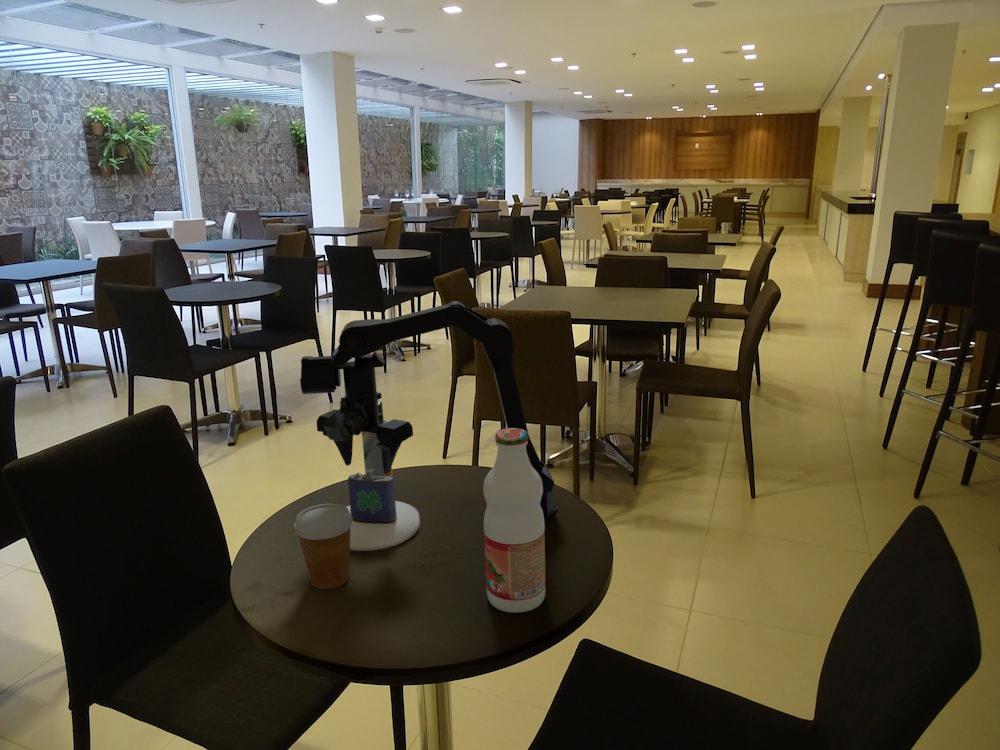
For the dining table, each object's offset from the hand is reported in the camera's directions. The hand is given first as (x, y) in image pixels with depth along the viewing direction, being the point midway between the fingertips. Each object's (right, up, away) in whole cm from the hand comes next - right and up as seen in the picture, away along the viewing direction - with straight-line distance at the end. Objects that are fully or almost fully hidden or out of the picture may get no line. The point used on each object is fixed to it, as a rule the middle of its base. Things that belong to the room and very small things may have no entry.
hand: (367, 468), depth 135 cm
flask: (+1, -10, +3) cm, 11 cm away
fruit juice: (+28, -18, -21) cm, 39 cm away
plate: (+1, -12, +3) cm, 12 cm away
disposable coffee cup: (-4, -17, -14) cm, 22 cm away
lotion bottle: (-1, -7, +21) cm, 22 cm away
